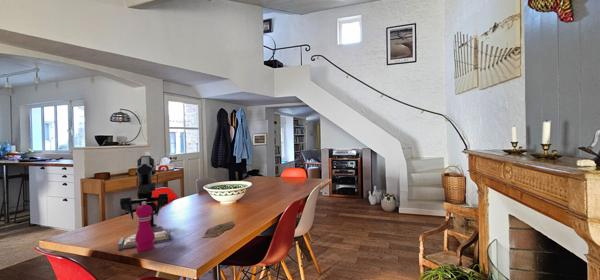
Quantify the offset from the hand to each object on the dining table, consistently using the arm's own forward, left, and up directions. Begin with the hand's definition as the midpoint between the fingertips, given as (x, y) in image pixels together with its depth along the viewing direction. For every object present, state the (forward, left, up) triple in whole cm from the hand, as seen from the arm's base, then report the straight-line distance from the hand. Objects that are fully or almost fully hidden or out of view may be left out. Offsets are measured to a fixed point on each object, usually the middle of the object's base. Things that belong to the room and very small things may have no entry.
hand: (145, 217), depth 117 cm
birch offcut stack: (-4, +2, -11) cm, 12 cm away
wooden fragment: (+14, +30, -13) cm, 35 cm away
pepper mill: (+3, -2, -12) cm, 13 cm away
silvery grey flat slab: (-4, +2, -12) cm, 13 cm away
